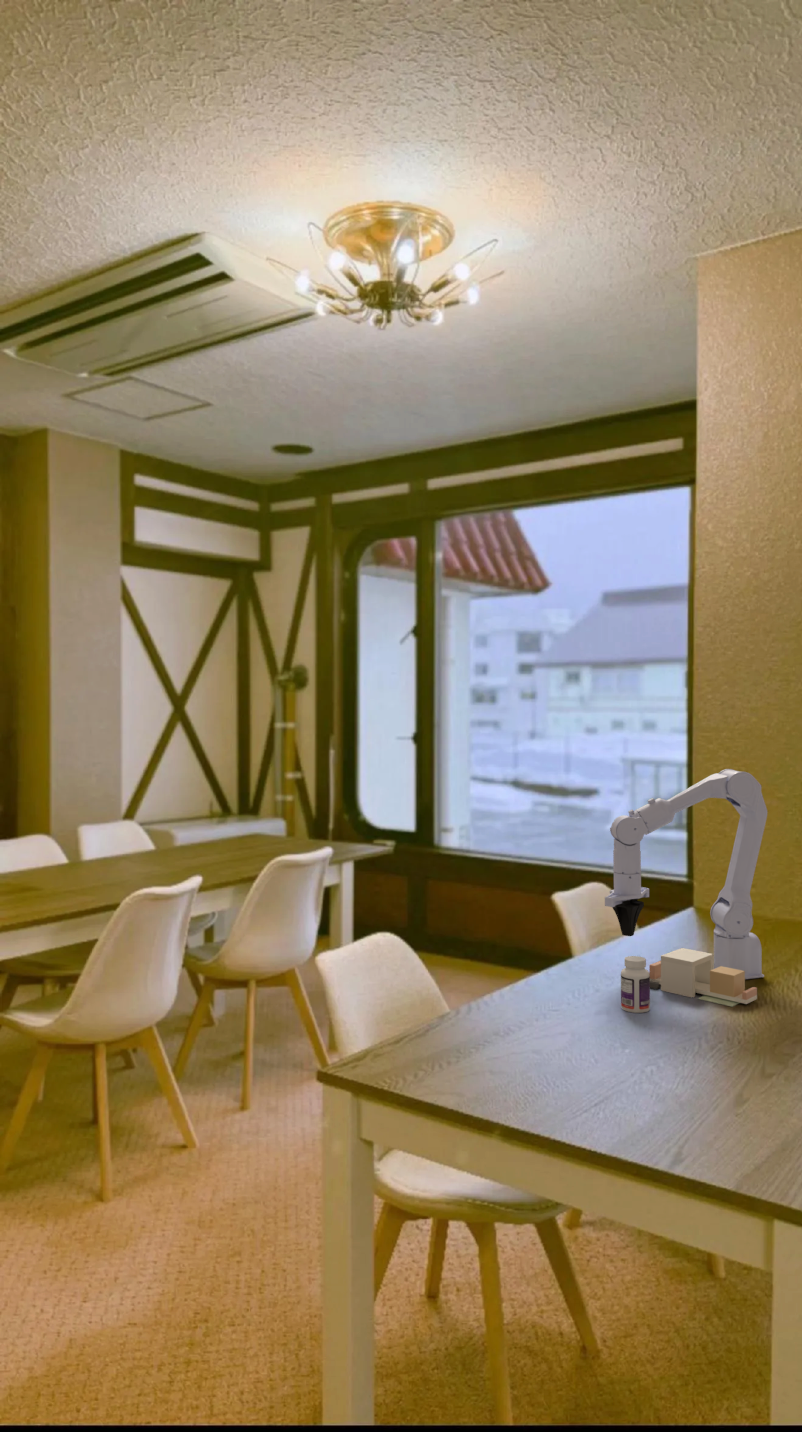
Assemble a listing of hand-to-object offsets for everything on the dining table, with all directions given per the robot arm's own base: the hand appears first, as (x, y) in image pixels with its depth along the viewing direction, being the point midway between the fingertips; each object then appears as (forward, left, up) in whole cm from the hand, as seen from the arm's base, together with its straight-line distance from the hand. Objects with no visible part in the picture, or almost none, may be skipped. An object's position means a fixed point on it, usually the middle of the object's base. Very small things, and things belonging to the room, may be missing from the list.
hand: (627, 935), depth 205 cm
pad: (-9, +20, -9) cm, 24 cm away
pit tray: (-3, +6, -9) cm, 11 cm away
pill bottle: (+11, +20, -9) cm, 24 cm away
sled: (-7, +16, -8) cm, 19 cm away
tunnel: (-6, +13, -9) cm, 16 cm away
